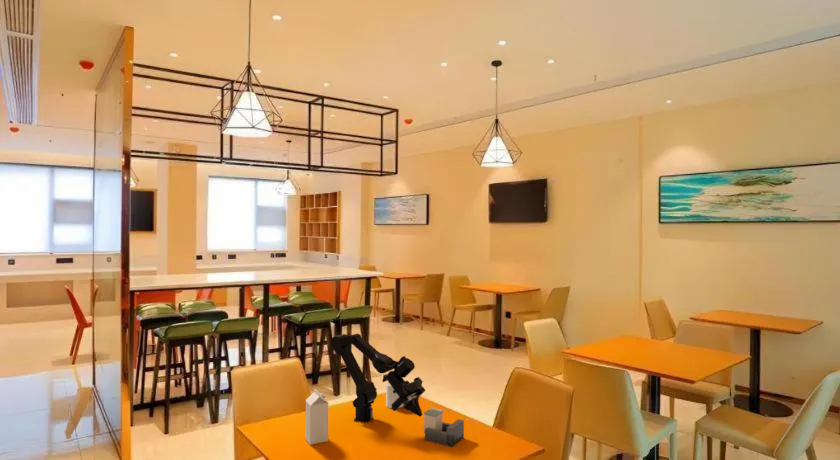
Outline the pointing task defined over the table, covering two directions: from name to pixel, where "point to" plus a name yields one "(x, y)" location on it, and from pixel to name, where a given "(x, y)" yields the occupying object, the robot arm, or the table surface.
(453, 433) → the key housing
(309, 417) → the milk carton
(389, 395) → the mug
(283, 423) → the table surface
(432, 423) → the plunger key
